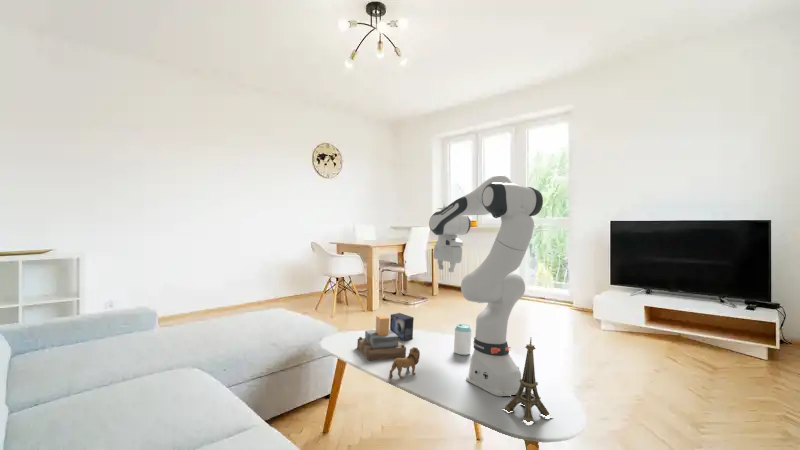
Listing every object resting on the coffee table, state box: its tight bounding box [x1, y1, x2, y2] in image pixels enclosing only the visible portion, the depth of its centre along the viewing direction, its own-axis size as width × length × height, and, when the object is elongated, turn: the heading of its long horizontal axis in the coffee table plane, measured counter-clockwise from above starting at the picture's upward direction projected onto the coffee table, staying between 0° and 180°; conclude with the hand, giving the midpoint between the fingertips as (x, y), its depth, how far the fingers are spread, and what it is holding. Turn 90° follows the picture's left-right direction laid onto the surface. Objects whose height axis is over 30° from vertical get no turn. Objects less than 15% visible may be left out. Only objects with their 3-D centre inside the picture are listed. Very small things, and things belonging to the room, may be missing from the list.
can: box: [453, 323, 472, 356], centre depth 167 cm, size 7×7×12 cm
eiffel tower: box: [502, 338, 550, 422], centre depth 115 cm, size 11×11×25 cm
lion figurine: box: [389, 347, 421, 380], centre depth 140 cm, size 15×5×9 cm, turn 137°
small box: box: [389, 312, 415, 342], centre depth 186 cm, size 11×6×10 cm, turn 42°
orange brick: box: [375, 315, 390, 336], centre depth 163 cm, size 5×4×7 cm
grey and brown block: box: [356, 329, 407, 362], centre depth 163 cm, size 16×16×8 cm
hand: (445, 270), depth 179 cm, fingers open, 8 cm apart
